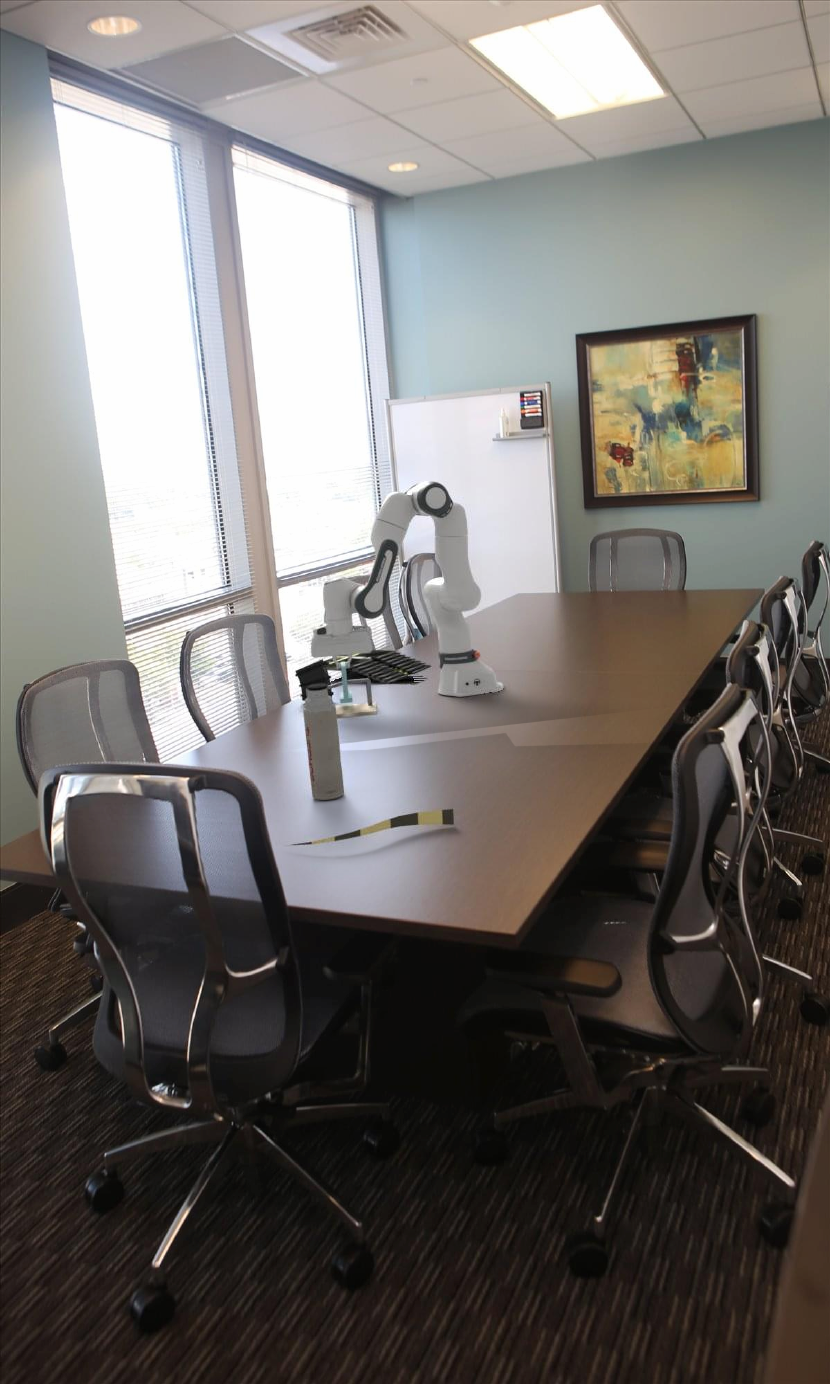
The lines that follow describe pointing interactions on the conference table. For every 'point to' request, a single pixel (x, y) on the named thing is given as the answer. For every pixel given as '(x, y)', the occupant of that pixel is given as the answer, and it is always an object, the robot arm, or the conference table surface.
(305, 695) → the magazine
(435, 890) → the conference table surface
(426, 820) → the tape
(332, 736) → the thermos bottle
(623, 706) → the conference table surface
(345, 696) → the light blue tall piece
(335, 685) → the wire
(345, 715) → the board
